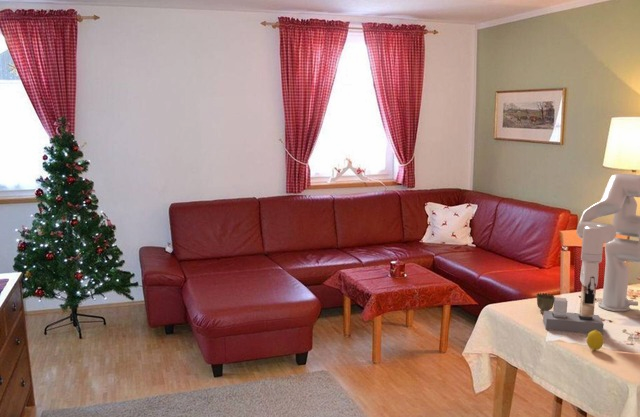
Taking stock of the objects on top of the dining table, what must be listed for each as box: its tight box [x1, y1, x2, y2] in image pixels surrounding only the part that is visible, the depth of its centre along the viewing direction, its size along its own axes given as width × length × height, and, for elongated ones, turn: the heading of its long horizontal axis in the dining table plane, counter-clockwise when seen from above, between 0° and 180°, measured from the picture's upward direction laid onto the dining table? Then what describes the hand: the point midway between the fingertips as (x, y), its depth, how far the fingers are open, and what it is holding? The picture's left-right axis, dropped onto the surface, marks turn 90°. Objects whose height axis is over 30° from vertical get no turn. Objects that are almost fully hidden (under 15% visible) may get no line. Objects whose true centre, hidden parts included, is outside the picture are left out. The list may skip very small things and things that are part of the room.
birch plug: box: [579, 284, 597, 317], centre depth 234 cm, size 4×4×12 cm
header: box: [542, 310, 604, 336], centre depth 237 cm, size 21×10×5 cm, turn 76°
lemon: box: [586, 330, 604, 352], centre depth 215 cm, size 6×6×8 cm
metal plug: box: [552, 296, 568, 319], centre depth 237 cm, size 4×4×12 cm
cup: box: [536, 292, 555, 314], centre depth 255 cm, size 8×7×8 cm
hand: (587, 300), depth 234 cm, fingers closed on birch plug, 4 cm apart
